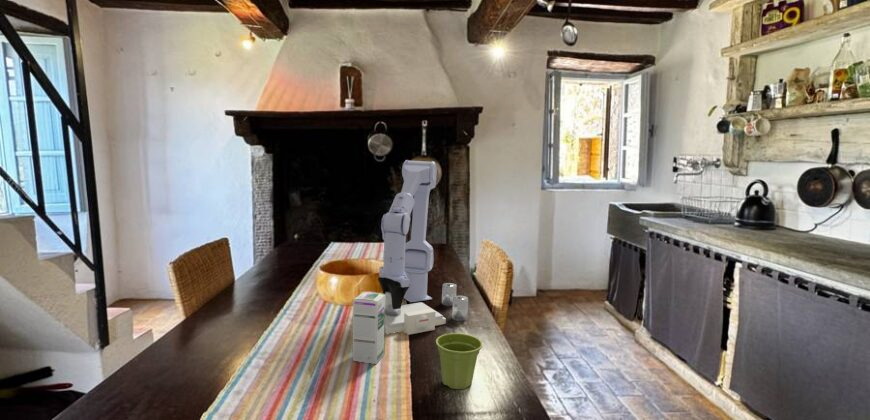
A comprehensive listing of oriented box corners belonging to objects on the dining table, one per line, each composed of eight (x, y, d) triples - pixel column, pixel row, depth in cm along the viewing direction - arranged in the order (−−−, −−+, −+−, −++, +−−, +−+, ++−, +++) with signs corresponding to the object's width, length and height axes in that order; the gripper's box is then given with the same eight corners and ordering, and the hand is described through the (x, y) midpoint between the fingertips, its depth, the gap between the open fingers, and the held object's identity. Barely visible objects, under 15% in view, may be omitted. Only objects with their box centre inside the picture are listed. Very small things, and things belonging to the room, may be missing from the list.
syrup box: (376, 365, 97) (378, 300, 95) (351, 361, 98) (352, 297, 97) (384, 354, 103) (386, 293, 101) (360, 350, 104) (362, 290, 102)
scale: (368, 318, 124) (368, 301, 123) (424, 309, 133) (424, 293, 133) (391, 338, 111) (391, 319, 111) (451, 327, 121) (452, 309, 120)
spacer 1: (398, 310, 125) (398, 289, 124) (403, 315, 121) (404, 293, 120) (382, 311, 123) (383, 290, 122) (387, 317, 119) (388, 295, 118)
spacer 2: (439, 302, 141) (440, 283, 140) (450, 300, 143) (451, 282, 142) (446, 306, 137) (447, 287, 136) (458, 304, 139) (459, 286, 139)
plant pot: (432, 371, 96) (434, 332, 95) (475, 371, 97) (477, 332, 95) (436, 394, 86) (438, 351, 85) (483, 394, 87) (486, 352, 86)
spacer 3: (448, 316, 128) (450, 296, 128) (461, 314, 131) (462, 294, 130) (457, 322, 125) (458, 301, 124) (470, 319, 127) (471, 299, 126)
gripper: (370, 252, 124) (368, 299, 126) (392, 264, 112) (390, 316, 113) (392, 250, 128) (391, 296, 129) (417, 262, 115) (415, 312, 117)
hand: (392, 305), depth 122 cm, fingers closed on spacer 1, 4 cm apart
